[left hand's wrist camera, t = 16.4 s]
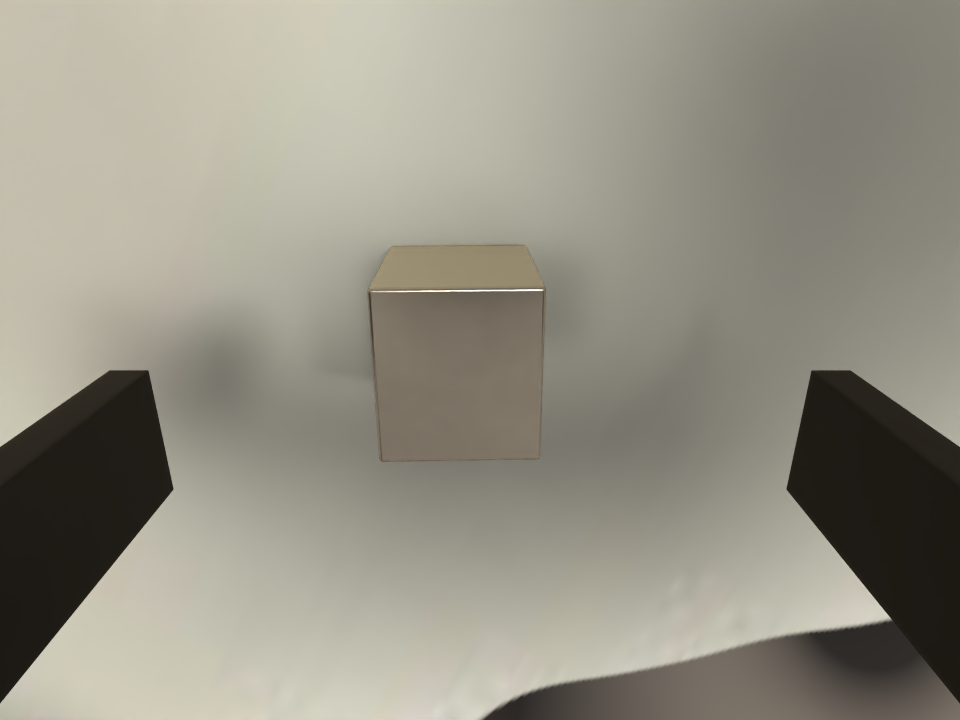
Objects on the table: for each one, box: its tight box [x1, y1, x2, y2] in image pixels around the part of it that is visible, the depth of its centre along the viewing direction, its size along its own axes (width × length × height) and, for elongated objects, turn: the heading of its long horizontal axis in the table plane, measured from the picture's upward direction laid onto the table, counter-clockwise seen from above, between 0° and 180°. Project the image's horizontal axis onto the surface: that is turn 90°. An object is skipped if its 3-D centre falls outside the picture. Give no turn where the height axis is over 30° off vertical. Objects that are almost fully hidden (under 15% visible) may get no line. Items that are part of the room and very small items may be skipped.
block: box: [367, 246, 546, 462], centre depth 17 cm, size 4×5×5 cm
